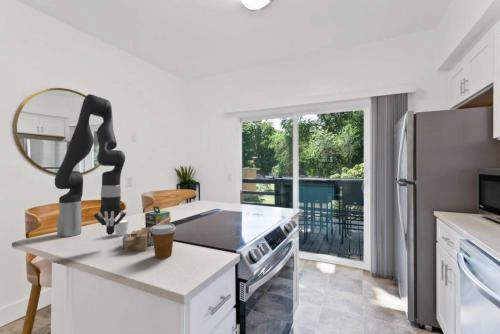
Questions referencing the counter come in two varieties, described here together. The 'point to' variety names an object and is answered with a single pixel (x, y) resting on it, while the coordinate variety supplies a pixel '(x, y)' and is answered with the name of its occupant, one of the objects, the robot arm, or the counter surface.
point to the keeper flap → (161, 223)
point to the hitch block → (137, 240)
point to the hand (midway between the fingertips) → (110, 234)
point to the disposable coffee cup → (163, 239)
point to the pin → (149, 240)
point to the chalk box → (155, 217)
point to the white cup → (122, 228)
